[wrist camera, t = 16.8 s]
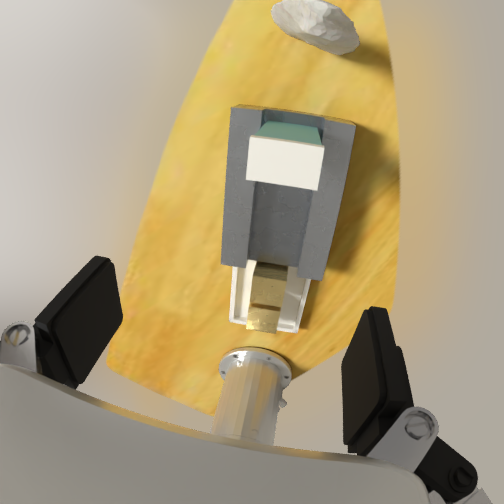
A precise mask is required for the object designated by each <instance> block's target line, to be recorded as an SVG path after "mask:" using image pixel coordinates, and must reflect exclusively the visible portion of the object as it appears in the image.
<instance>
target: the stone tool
mask: <svg viewBox="0 0 504 504" xmlns="http://www.w3.org/2000/svg"><path fill="white" fill-rule="evenodd" d="M271 14H272V18H273V20H274V22H275V23H276V24H277V25H278V26H279V27H280V28H281V29H282V30H283V31H284V32H285V33H286V34H288V35H290V36H291V37H294V38H297V39H300V40H303V41H305V42H306V43H308V44H311V45H313V46H316V47H318V48H319V49H322V50H324V51H327V52H329V53H333V54H336V55H342V54H345V53H350V52H353V51H355V48H356V47H358V46H359V44H360V43H359V42H360V41H359V36H358V34H357V33H356V29H355V28H354V24H353V22H352V21H351V20H350V19H349V18H348V17H347V16H346V15H345V14H344V13H343V11H342V10H341V9H340V8H339V7H337V6H335V5H333V4H331V3H328V2H325V1H323V0H283V1H282V2H279V3H276V4H275V5H273V7H272V10H271Z"/></svg>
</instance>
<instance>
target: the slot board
mask: <svg viewBox="0 0 504 504" xmlns="http://www.w3.org/2000/svg"><path fill="white" fill-rule="evenodd" d="M268 120H269V121H277V122H284V123H291V124H298V125H304V126H310V127H316V128H317V129H318V132H319V136H320V140H321V144H322V146H324V148H325V149H324V155H323V160H322V166H321V172H320V178H319V183H318V189H317V191H316V190H310V189H304V188H298V187H292V186H286V185H279V184H273V183H266V182H259V181H252V180H246V172H247V161H248V151H249V140H250V136H251V135H255V134H256V133H257V132H258V131H259V130H260V128H261V127H262V126H263V125H264V124H265V123H266V122H267V121H268ZM355 129H356V125H355V124H354V123H352V122H351V121H349V120H344V119H339V118H334V117H329V116H323V115H317V114H311V113H305V112H299V111H292V110H285V109H277V108H269V107H260V106H251V105H241V104H239V105H236V106H234V107H231V116H230V128H229V141H228V155H227V169H226V183H225V199H224V215H223V232H222V251H221V264H222V265H228V266H234V267H240V268H246V266H247V263H248V260H255V261H261V262H267V263H273V264H279V265H285V266H291V267H297V277H300V278H306V279H313V280H319V281H322V279H323V275H324V271H325V267H326V263H327V259H328V255H329V251H330V247H331V243H332V239H333V235H334V231H335V226H336V222H337V218H338V213H339V209H340V205H341V200H342V195H343V191H344V186H345V181H346V176H347V171H348V166H349V161H350V156H351V151H352V146H353V140H354V135H355Z"/></svg>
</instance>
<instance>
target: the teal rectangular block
mask: <svg viewBox="0 0 504 504" xmlns="http://www.w3.org/2000/svg"><path fill="white" fill-rule="evenodd" d="M324 149H325V148H324V146H322V144H321V140H320V136H319V132H318V129H317V128H316V127H310V126H304V125H298V124H291V123H284V122H277V121H269V120H268V121H267V122H266V123H265V124H264V125H263V126H262V127H261V128H260V130H259V131H258V132H257V133H256V134H255V135H251V136H250V140H249V151H248V161H247V172H246V180H252V181H259V182H266V183H273V184H279V185H286V186H292V187H298V188H304V189H310V190H316V191H317V189H318V183H319V178H320V172H321V166H322V160H323V155H324Z"/></svg>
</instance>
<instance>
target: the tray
mask: <svg viewBox="0 0 504 504" xmlns="http://www.w3.org/2000/svg"><path fill="white" fill-rule="evenodd" d="M256 262H257V261H255V260H248V263H247V266H246V268H240V267H234V266H233V272H232V286H231V300H230V315H229V322H234V323H239V324H244V325H247V316H248V308H249V303H250V294H251V285H252V277H253V272H254V269H255V265H256ZM310 282H311V279H306V278H300V277H297V267H291V266H289V267H288V275H287V283H286V288H285V293H284V298H283V303H282V307H281V311H280V316H279V321H278V326H277V330H279V331H286V332H292V333H297V332H298V328H299V325H300V321H301V317H302V313H303V309H304V306H305V302H306V298H307V294H308V290H309V286H310Z"/></svg>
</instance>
